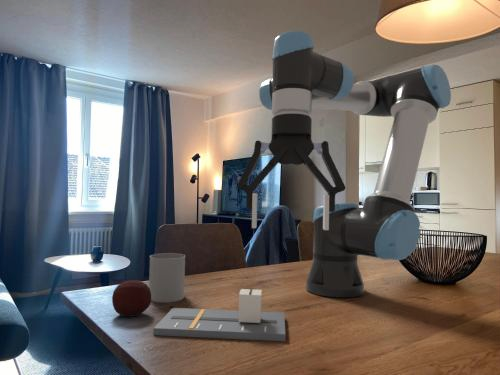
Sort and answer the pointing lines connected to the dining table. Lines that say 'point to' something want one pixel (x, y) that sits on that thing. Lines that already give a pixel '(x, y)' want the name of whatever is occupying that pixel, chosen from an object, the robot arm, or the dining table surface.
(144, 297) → the potato
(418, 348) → the dining table surface
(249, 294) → the fader
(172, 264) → the cup
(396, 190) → the robot arm
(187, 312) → the console
